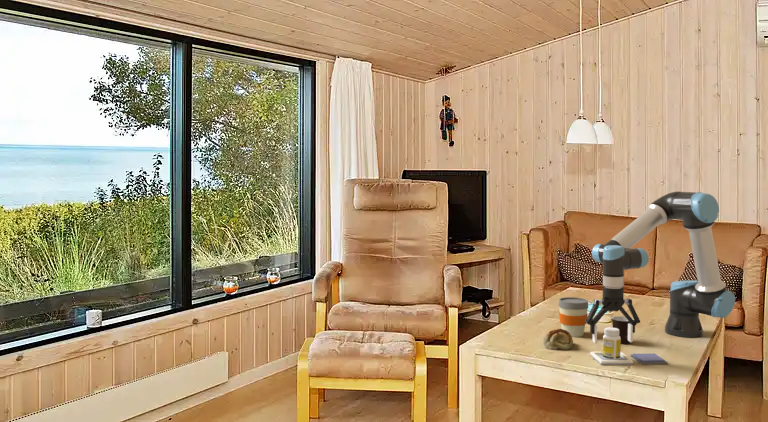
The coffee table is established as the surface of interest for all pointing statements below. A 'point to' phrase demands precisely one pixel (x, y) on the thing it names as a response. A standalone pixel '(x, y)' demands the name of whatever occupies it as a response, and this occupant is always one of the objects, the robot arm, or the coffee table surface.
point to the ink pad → (648, 359)
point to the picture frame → (622, 361)
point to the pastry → (558, 339)
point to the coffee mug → (621, 327)
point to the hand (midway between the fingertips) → (612, 341)
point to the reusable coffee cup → (573, 315)
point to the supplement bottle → (611, 344)
